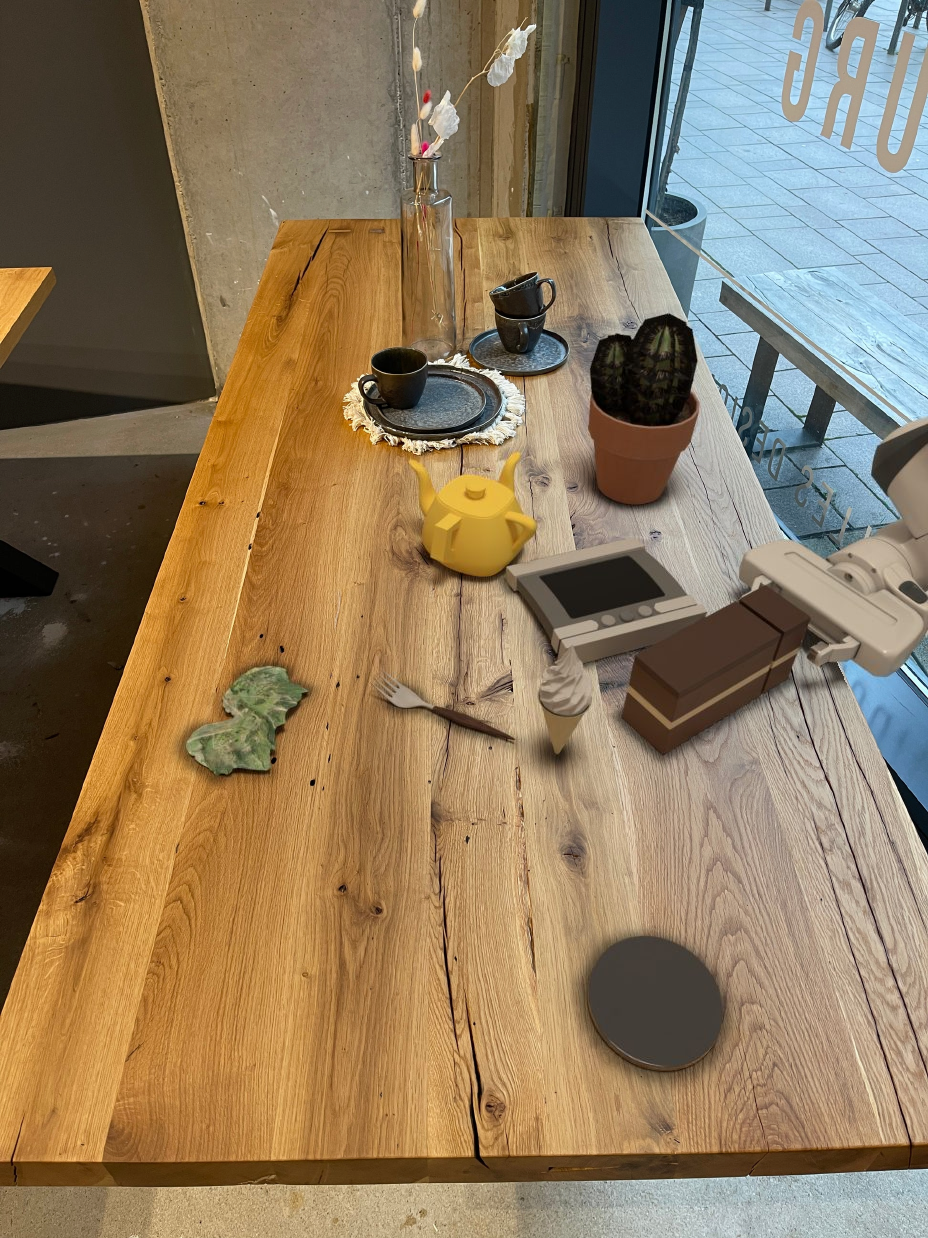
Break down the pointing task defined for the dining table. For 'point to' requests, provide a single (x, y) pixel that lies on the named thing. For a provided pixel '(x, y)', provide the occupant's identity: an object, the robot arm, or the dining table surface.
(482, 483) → the teapot
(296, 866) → the dining table surface
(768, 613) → the cake slice
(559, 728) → the ice cream cone
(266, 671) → the lettuce leaf
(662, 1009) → the plate
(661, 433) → the potted plant
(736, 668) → the cake loaf
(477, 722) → the fork
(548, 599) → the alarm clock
